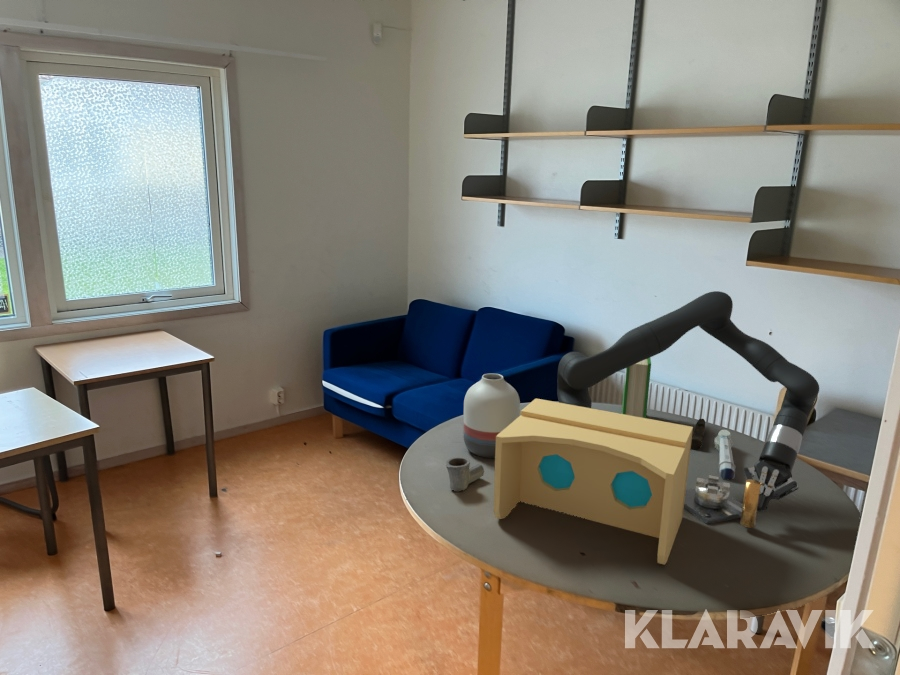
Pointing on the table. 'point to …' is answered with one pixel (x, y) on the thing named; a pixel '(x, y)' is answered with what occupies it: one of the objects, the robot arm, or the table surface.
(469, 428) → the vase
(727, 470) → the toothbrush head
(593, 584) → the table surface
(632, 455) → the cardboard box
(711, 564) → the table surface
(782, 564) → the table surface
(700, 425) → the hand tool
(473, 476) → the pipe
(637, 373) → the hardback book
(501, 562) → the table surface
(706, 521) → the hub plate
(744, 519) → the crank handle
